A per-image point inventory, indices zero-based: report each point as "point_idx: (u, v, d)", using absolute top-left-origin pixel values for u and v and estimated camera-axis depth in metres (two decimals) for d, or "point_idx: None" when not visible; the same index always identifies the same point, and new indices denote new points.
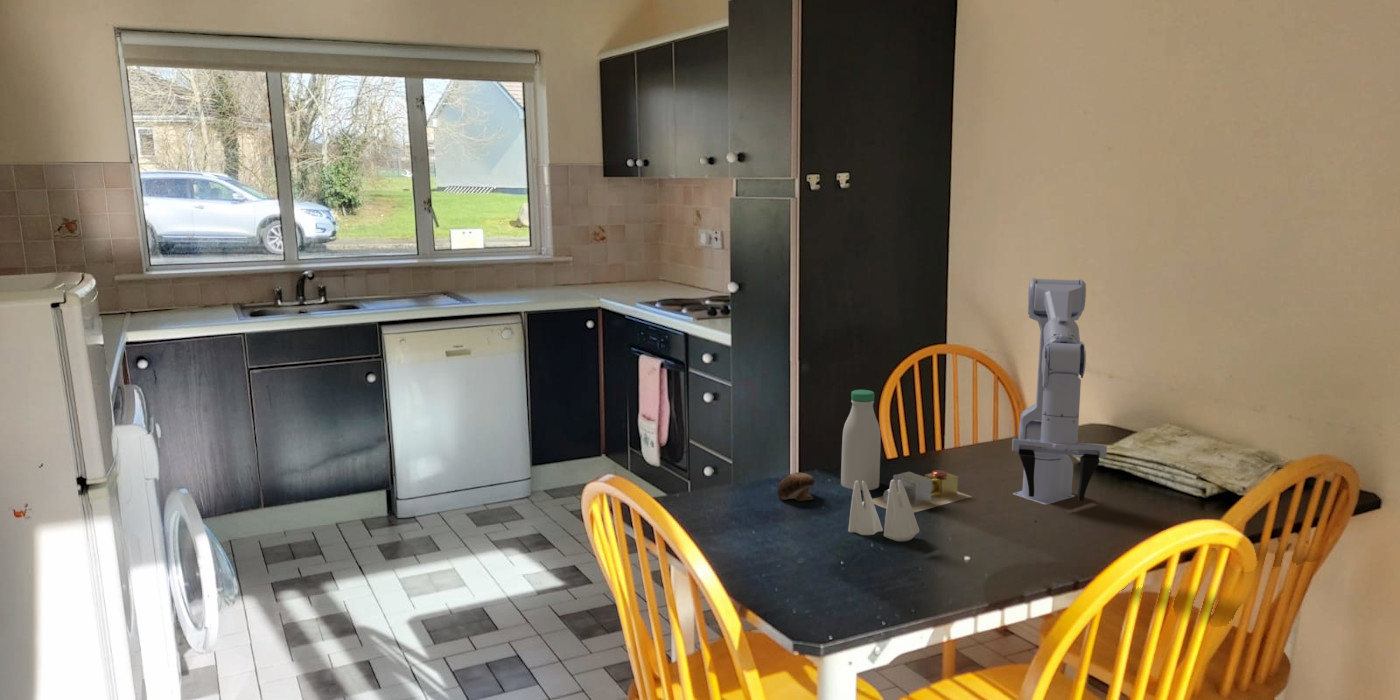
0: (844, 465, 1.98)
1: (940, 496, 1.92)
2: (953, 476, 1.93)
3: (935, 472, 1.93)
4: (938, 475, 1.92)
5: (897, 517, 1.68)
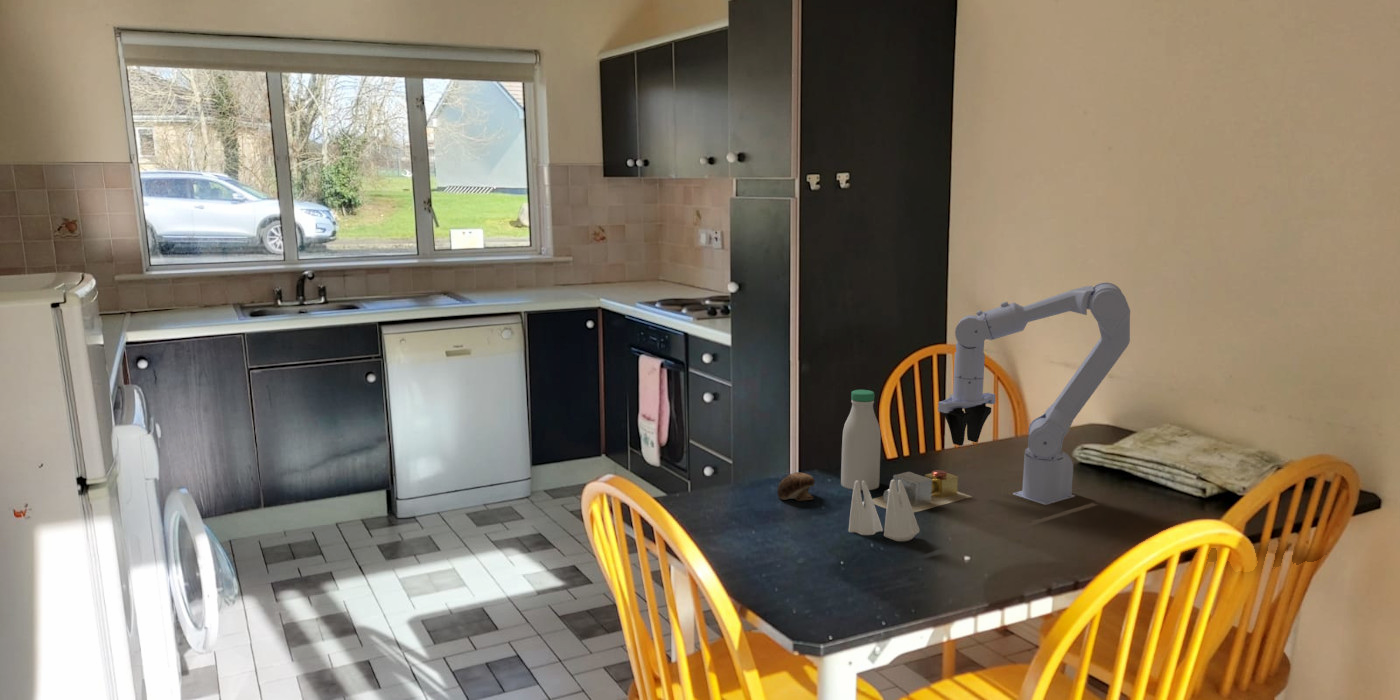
0: (844, 465, 1.98)
1: (940, 496, 1.92)
2: (953, 476, 1.93)
3: (935, 472, 1.93)
4: (938, 475, 1.92)
5: (897, 517, 1.68)
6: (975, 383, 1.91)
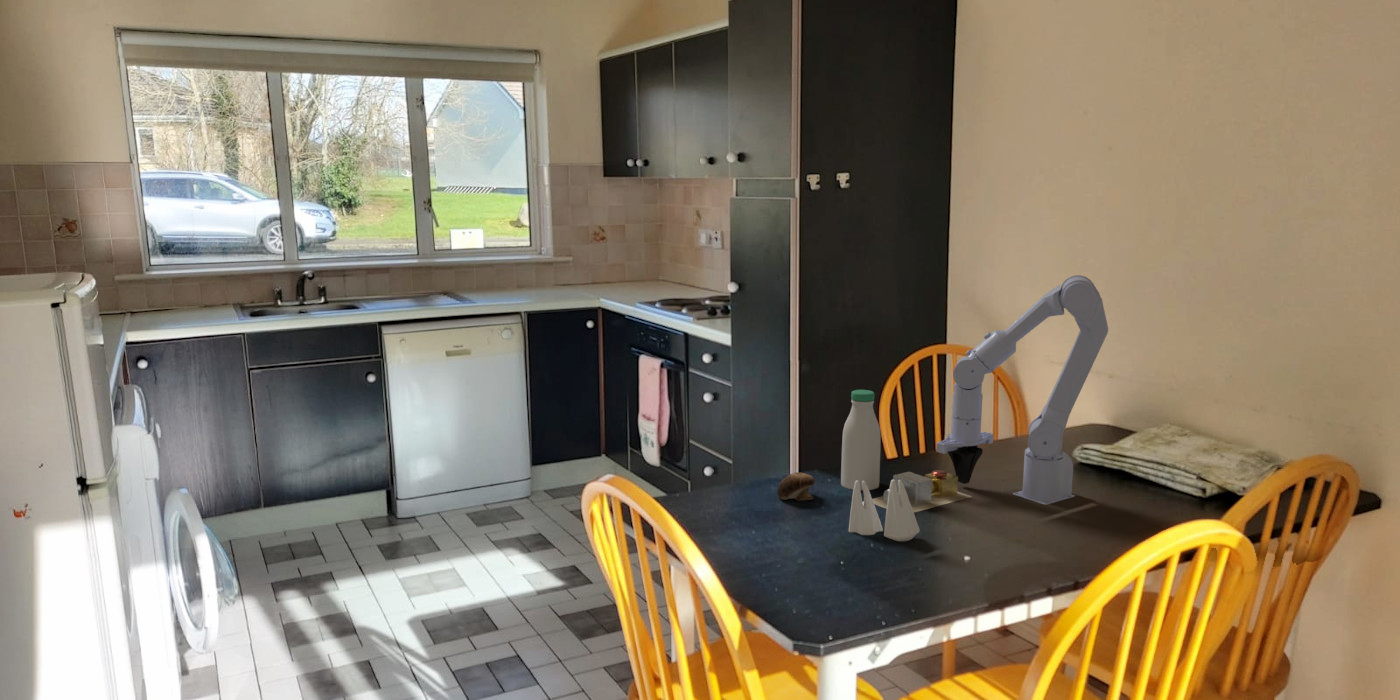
0: (844, 465, 1.98)
1: (940, 496, 1.92)
2: (953, 476, 1.93)
3: (935, 472, 1.93)
4: (938, 475, 1.92)
5: (897, 517, 1.68)
6: (973, 424, 1.93)
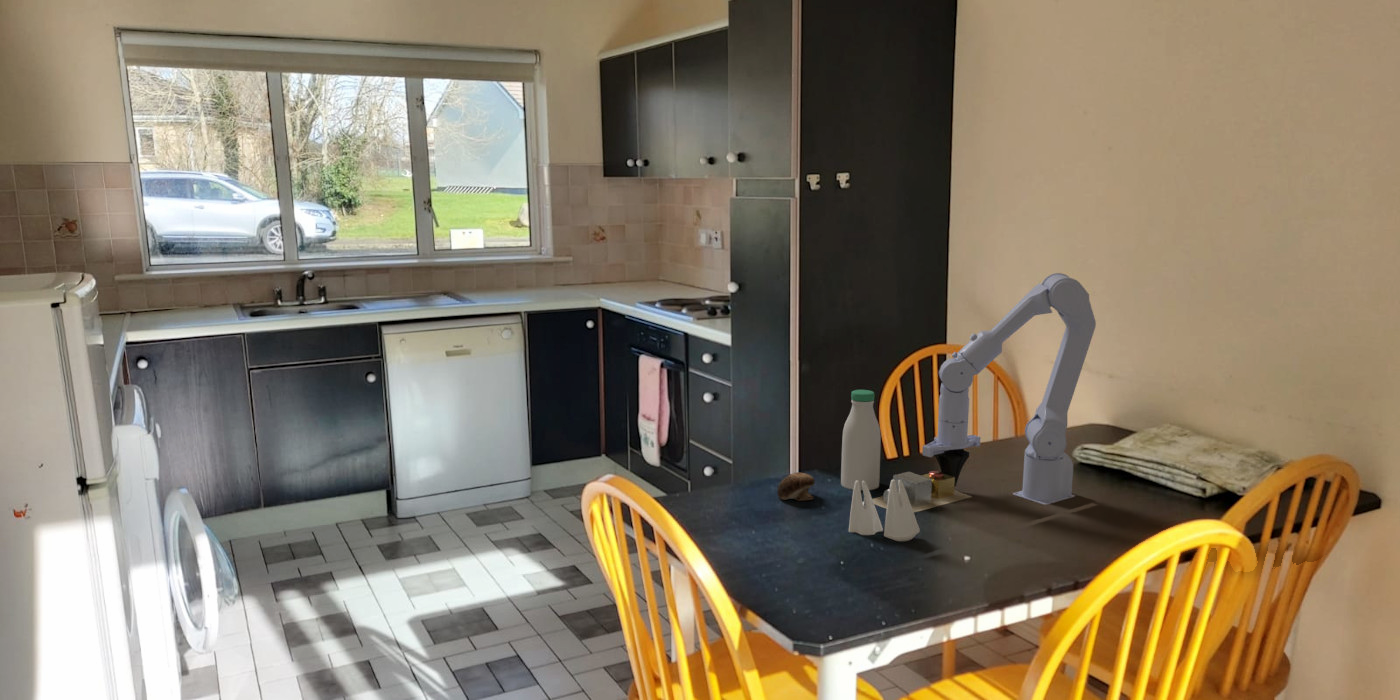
0: (844, 465, 1.98)
1: (937, 497, 1.91)
2: (950, 477, 1.93)
3: (932, 473, 1.93)
4: (935, 476, 1.92)
5: (897, 517, 1.68)
6: (959, 427, 1.91)
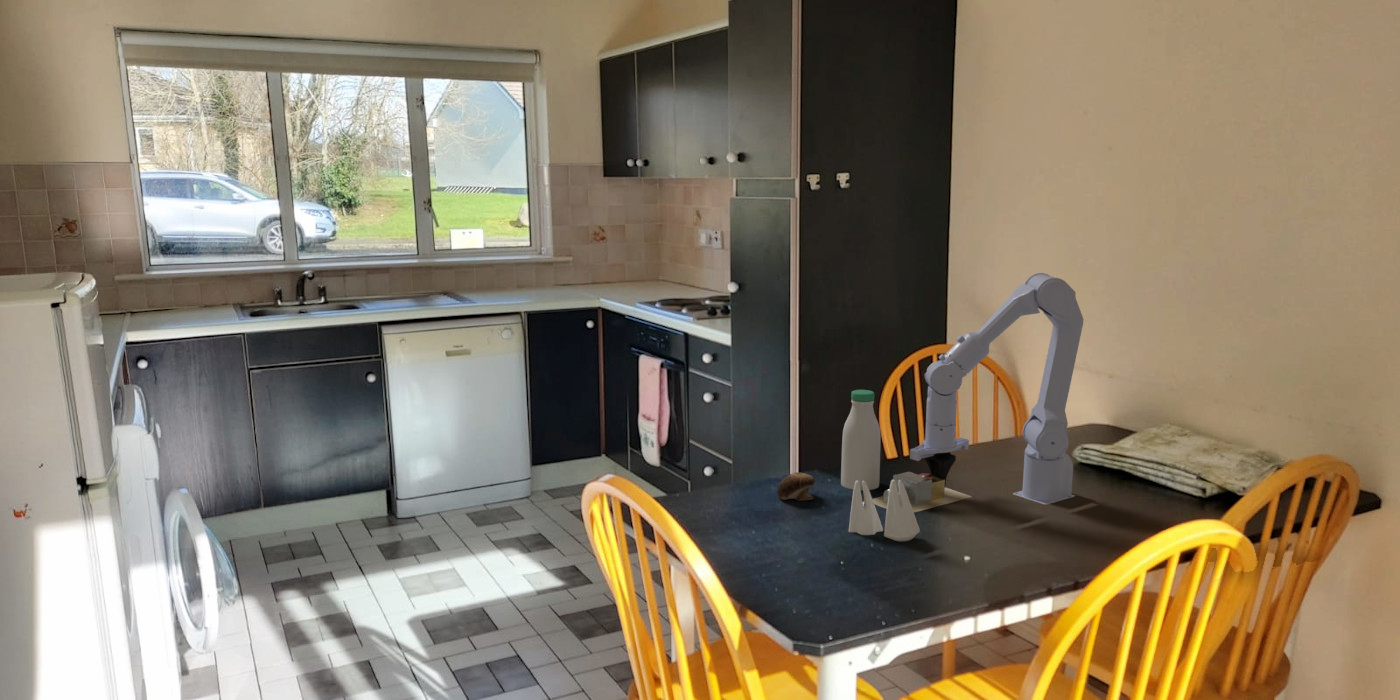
0: (844, 465, 1.98)
1: None
2: (940, 479, 1.91)
3: (922, 475, 1.91)
4: None
5: (897, 517, 1.68)
6: (947, 430, 1.89)
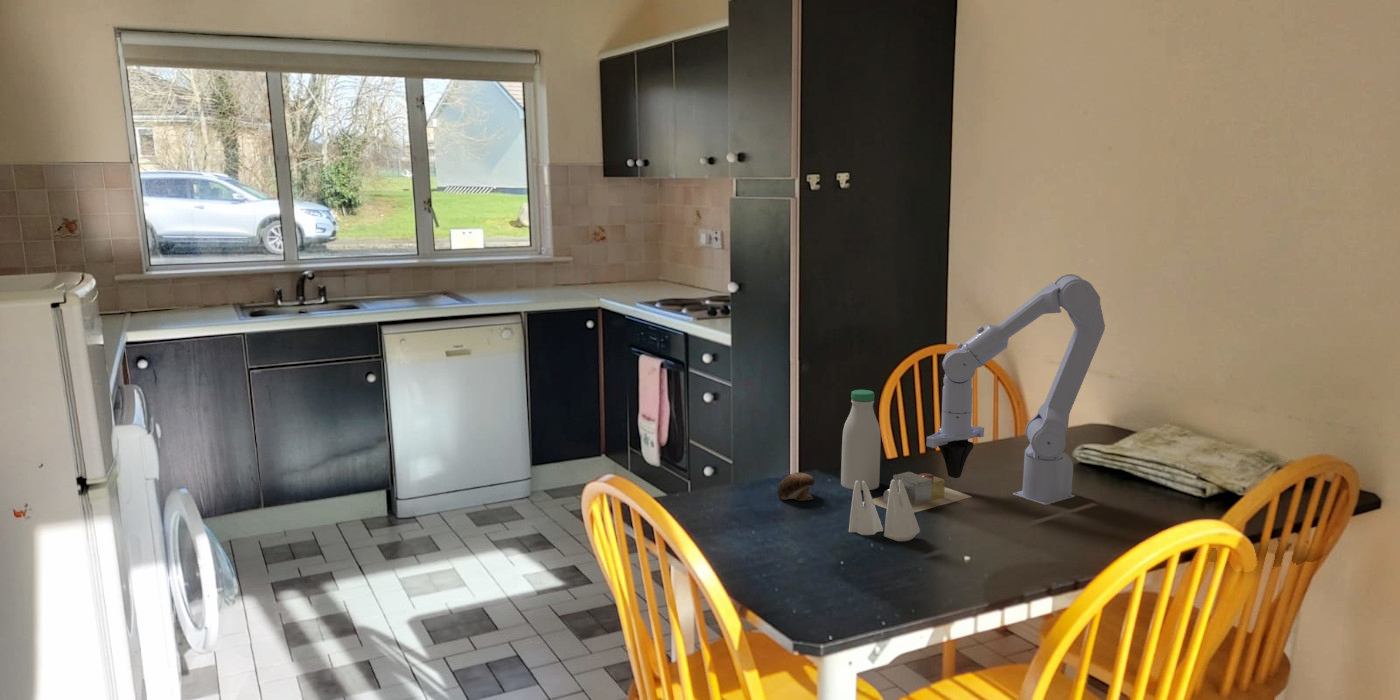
0: (844, 465, 1.98)
1: None
2: (940, 479, 1.91)
3: (922, 475, 1.91)
4: None
5: (897, 517, 1.68)
6: (963, 417, 1.91)
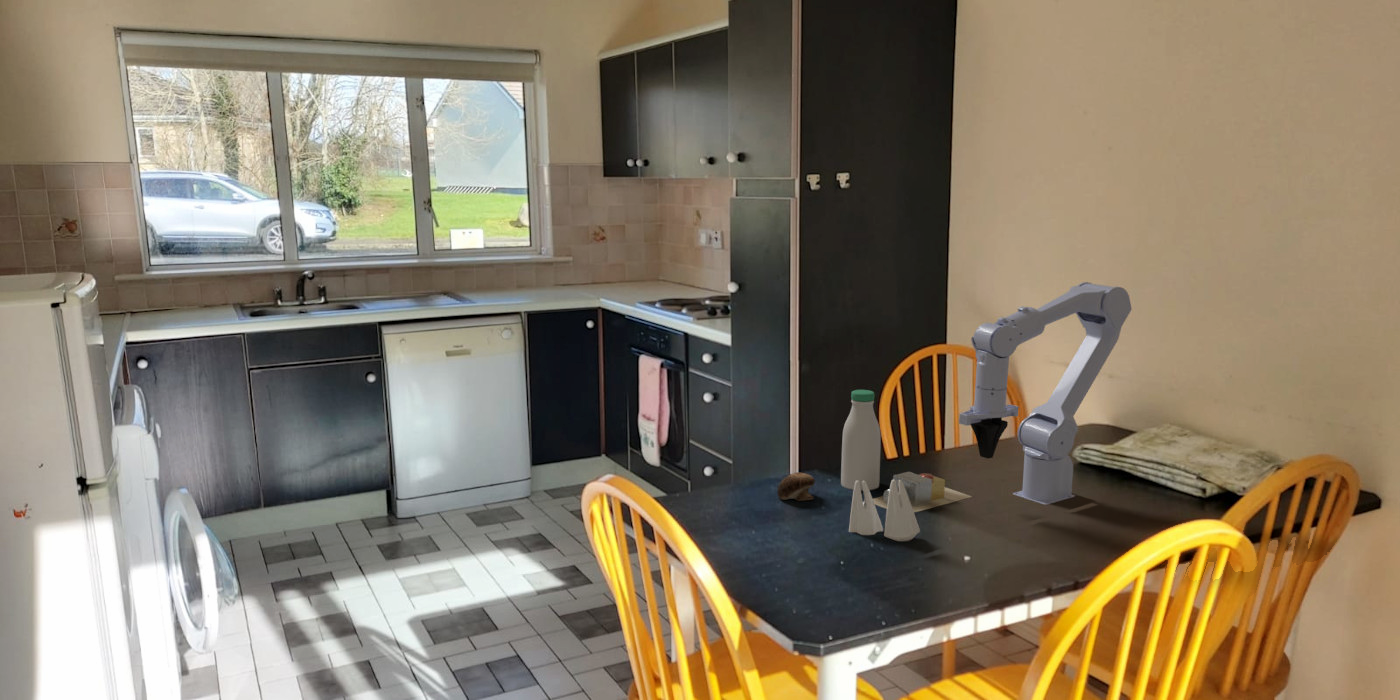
0: (844, 465, 1.98)
1: None
2: (940, 479, 1.91)
3: (922, 475, 1.91)
4: None
5: (898, 517, 1.68)
6: (998, 394, 1.82)
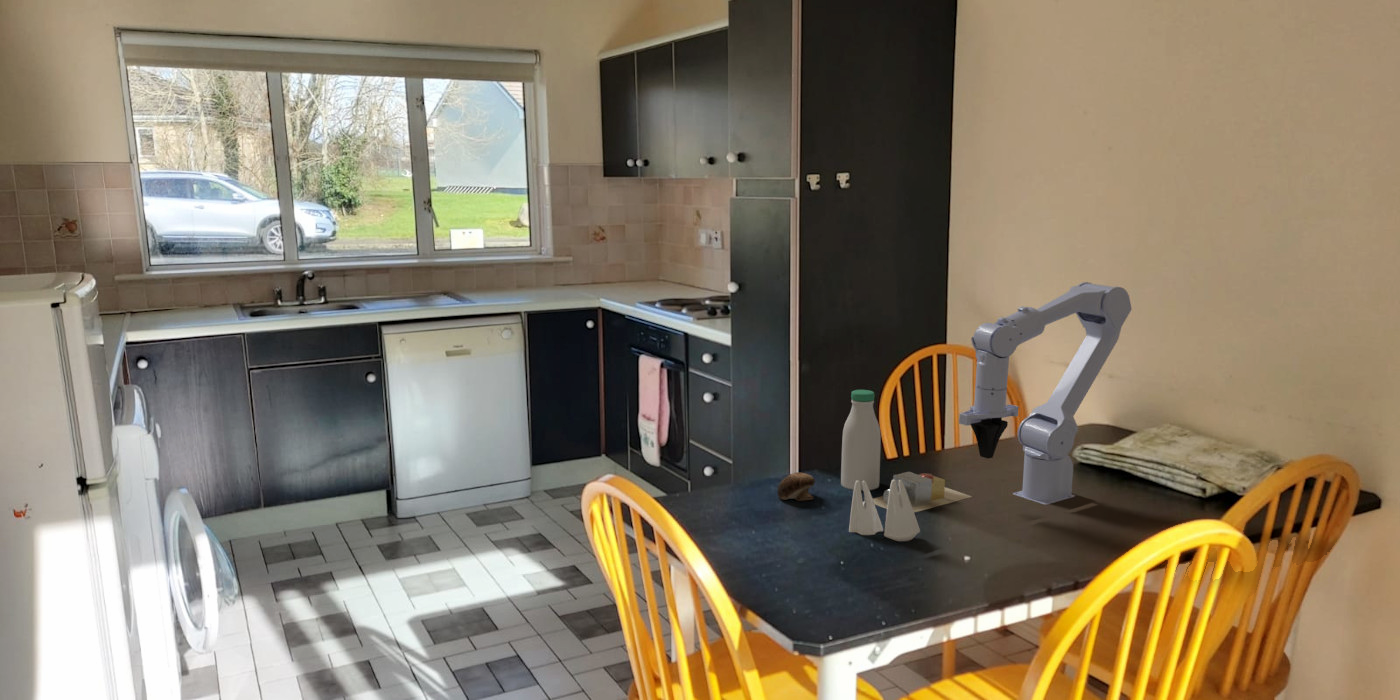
0: (844, 465, 1.98)
1: None
2: (940, 479, 1.91)
3: (922, 475, 1.91)
4: None
5: (898, 517, 1.68)
6: (998, 394, 1.82)
